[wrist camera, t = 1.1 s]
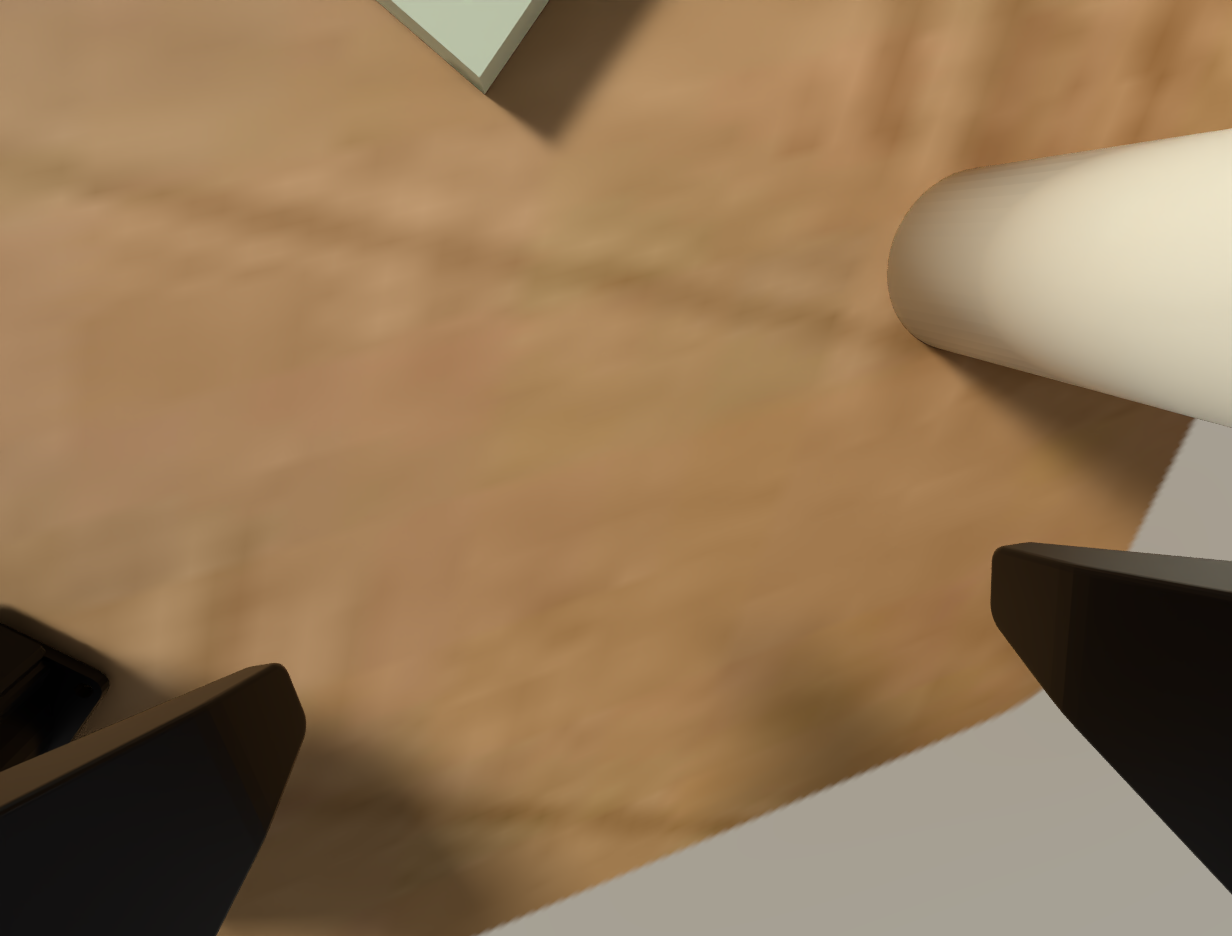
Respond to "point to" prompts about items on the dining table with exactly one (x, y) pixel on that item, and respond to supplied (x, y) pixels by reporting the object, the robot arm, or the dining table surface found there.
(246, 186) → the dining table surface
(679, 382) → the dining table surface
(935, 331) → the white rounded tapered cylinder
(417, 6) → the tray
